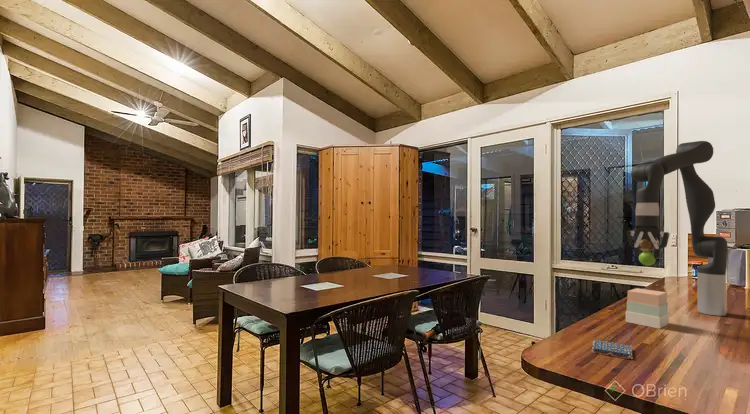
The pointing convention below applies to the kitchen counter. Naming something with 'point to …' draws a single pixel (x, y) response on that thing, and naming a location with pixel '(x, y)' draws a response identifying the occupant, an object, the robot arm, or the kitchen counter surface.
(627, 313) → the stacked pastel boxes
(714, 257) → the robot arm
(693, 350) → the kitchen counter surface
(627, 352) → the woven mat
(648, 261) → the snail figurine
